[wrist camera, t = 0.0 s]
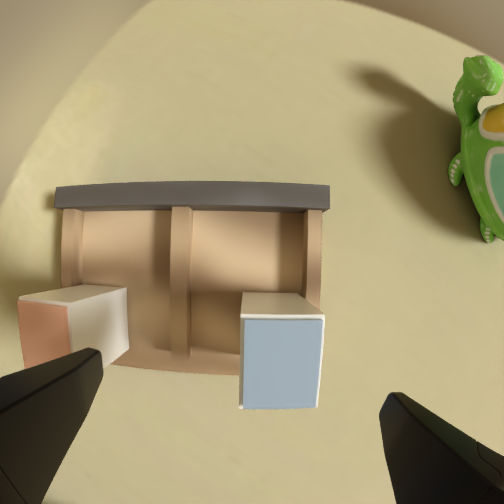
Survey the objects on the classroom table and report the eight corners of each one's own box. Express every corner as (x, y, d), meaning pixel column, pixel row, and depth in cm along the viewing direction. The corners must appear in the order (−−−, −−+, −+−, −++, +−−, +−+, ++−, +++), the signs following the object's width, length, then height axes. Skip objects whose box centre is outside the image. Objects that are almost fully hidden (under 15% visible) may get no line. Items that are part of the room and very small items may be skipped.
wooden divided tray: (311, 372, 24) (320, 389, 20) (78, 356, 23) (58, 368, 20) (318, 193, 24) (329, 184, 20) (77, 193, 24) (56, 185, 20)
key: (129, 348, 23) (75, 391, 14) (87, 343, 23) (24, 377, 14) (126, 287, 23) (66, 303, 14) (84, 284, 23) (14, 297, 14)
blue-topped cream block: (293, 356, 23) (319, 410, 14) (241, 356, 23) (238, 412, 14) (296, 292, 23) (327, 315, 14) (242, 291, 23) (240, 315, 14)
